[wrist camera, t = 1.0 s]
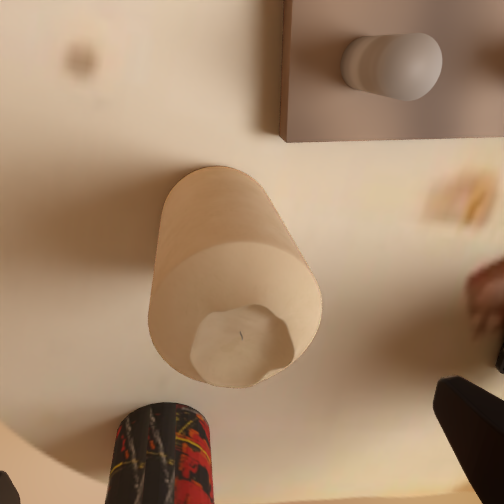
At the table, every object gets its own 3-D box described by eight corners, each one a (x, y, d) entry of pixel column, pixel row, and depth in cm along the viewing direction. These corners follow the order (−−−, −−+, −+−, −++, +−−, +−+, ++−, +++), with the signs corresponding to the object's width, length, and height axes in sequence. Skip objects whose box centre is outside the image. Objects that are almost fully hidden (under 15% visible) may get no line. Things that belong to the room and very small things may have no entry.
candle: (184, 146, 18) (185, 236, 10) (290, 189, 20) (372, 299, 11) (146, 248, 20) (118, 401, 12) (245, 279, 22) (286, 433, 13)
